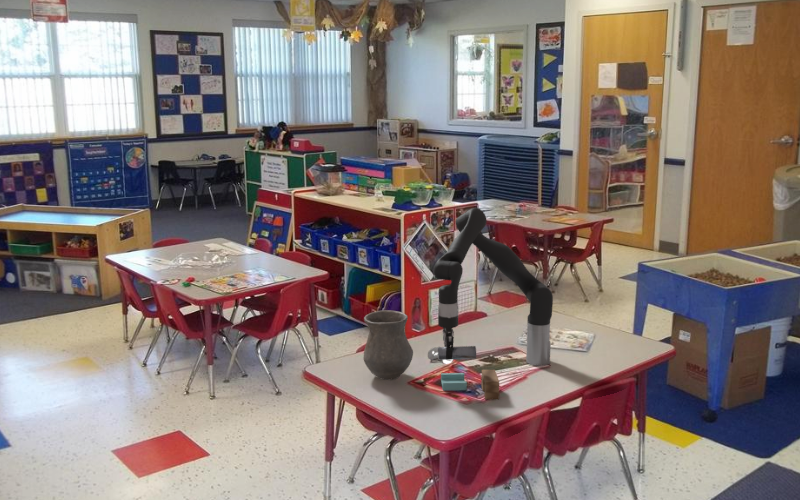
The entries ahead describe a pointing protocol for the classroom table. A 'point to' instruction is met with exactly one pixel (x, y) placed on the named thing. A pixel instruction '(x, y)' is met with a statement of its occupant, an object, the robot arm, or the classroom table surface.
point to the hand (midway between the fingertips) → (448, 356)
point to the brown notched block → (490, 384)
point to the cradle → (453, 381)
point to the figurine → (436, 355)
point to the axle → (458, 352)
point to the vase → (387, 344)
